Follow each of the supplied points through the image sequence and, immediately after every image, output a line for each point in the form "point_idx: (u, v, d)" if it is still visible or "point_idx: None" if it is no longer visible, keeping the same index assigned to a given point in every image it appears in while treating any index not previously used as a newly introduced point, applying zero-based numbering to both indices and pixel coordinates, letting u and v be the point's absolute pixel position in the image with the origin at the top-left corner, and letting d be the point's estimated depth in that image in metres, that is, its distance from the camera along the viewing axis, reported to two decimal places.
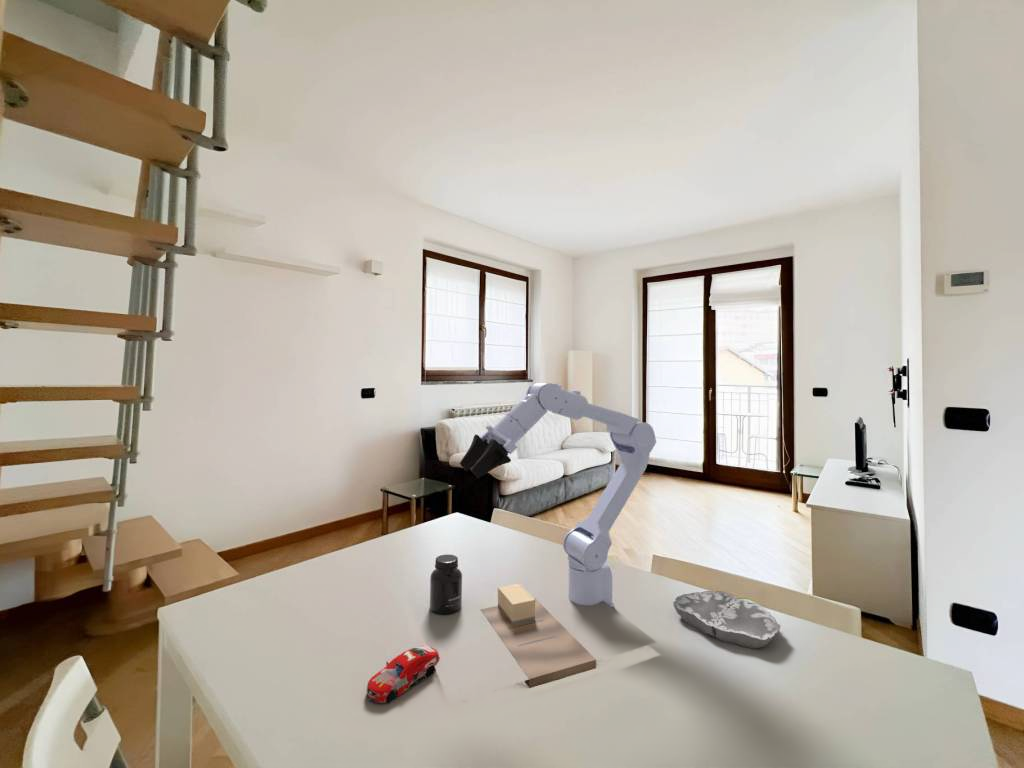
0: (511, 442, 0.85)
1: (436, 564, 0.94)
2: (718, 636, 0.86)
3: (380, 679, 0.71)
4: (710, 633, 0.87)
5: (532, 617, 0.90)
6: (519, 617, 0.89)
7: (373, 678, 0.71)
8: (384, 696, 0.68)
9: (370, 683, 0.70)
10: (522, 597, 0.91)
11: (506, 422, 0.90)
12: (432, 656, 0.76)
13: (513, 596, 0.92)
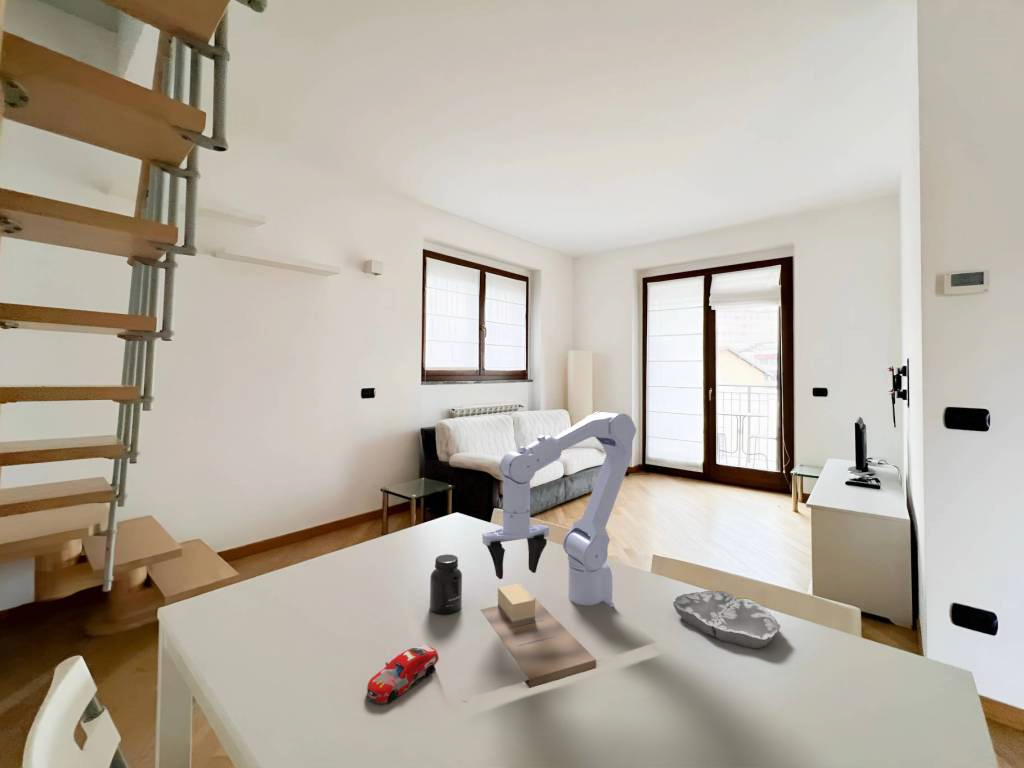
0: None
1: (436, 564, 0.94)
2: (718, 636, 0.86)
3: (380, 680, 0.70)
4: (710, 633, 0.87)
5: (532, 617, 0.90)
6: (519, 617, 0.89)
7: (373, 679, 0.71)
8: (385, 696, 0.68)
9: (371, 684, 0.70)
10: (522, 597, 0.91)
11: None
12: (431, 655, 0.76)
13: (513, 596, 0.92)
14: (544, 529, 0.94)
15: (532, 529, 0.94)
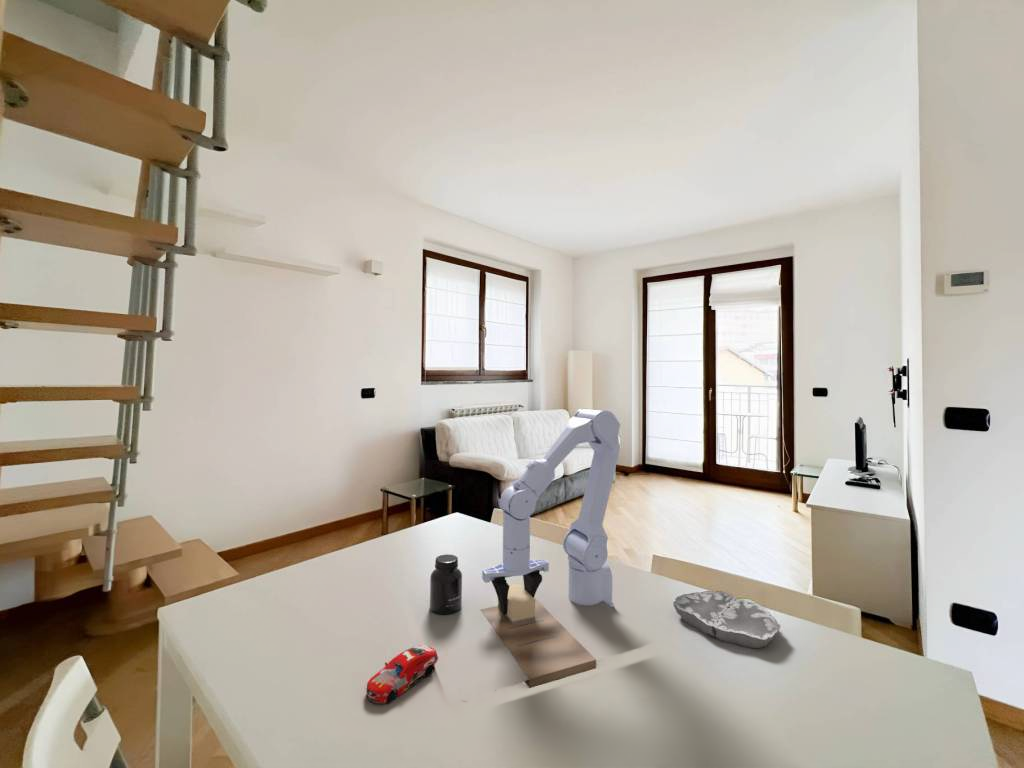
0: (482, 572, 0.91)
1: (436, 564, 0.94)
2: (718, 636, 0.86)
3: (380, 679, 0.70)
4: (710, 633, 0.87)
5: (532, 617, 0.90)
6: (519, 617, 0.89)
7: (372, 679, 0.71)
8: (384, 696, 0.68)
9: (370, 684, 0.70)
10: (522, 597, 0.91)
11: None
12: (430, 655, 0.76)
13: (513, 596, 0.92)
14: (544, 564, 0.94)
15: (532, 564, 0.94)
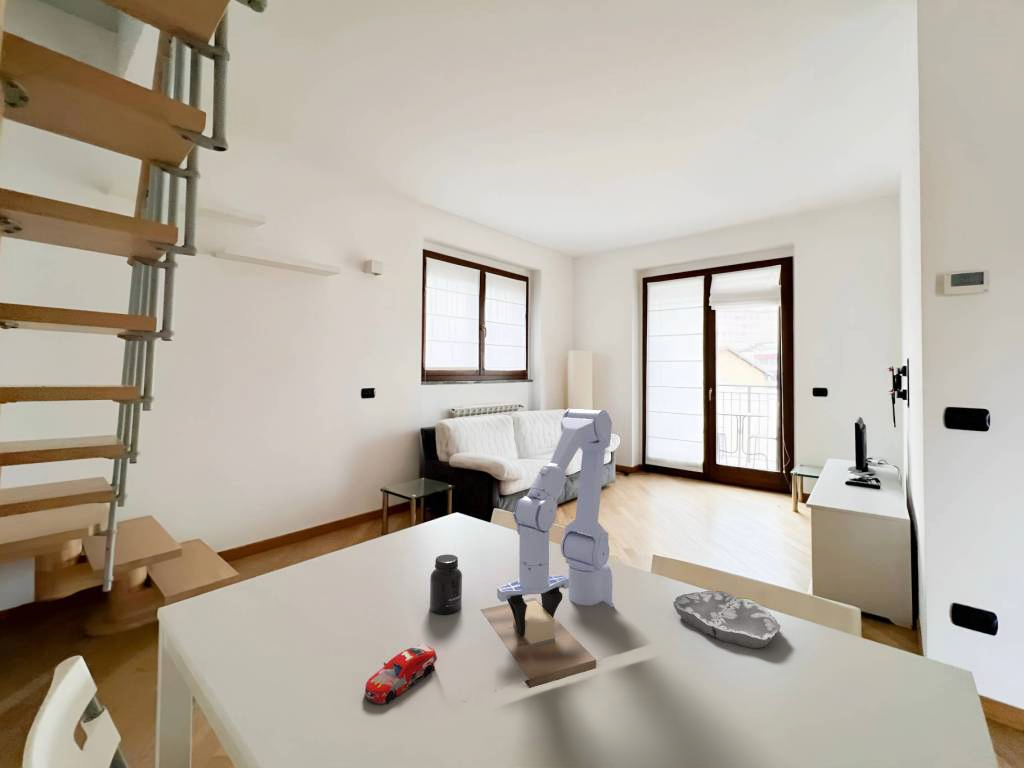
0: (497, 589, 0.83)
1: (436, 564, 0.94)
2: (718, 636, 0.86)
3: (378, 680, 0.70)
4: (710, 633, 0.87)
5: (552, 639, 0.82)
6: (538, 639, 0.81)
7: (371, 679, 0.71)
8: (383, 696, 0.68)
9: (369, 684, 0.70)
10: (540, 617, 0.83)
11: None
12: (429, 655, 0.76)
13: (530, 615, 0.84)
14: (564, 580, 0.87)
15: (551, 581, 0.86)
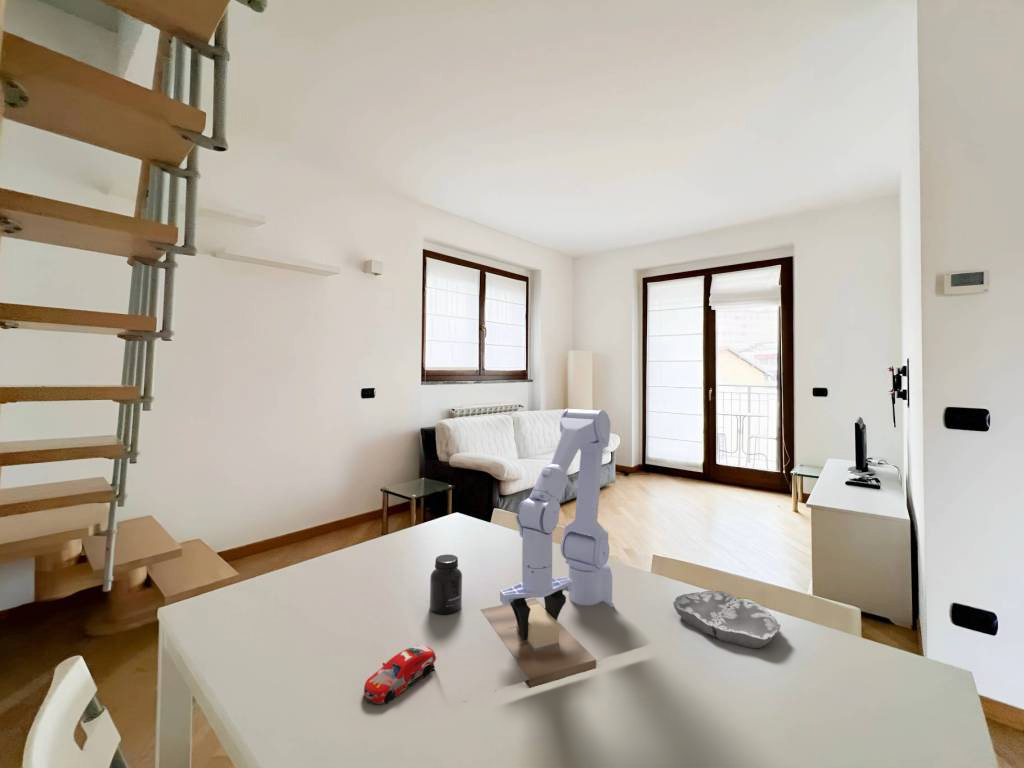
0: (500, 593, 0.82)
1: (436, 564, 0.94)
2: (718, 636, 0.86)
3: (377, 680, 0.70)
4: (710, 633, 0.87)
5: (556, 643, 0.81)
6: (542, 643, 0.80)
7: (370, 679, 0.71)
8: (382, 697, 0.68)
9: (368, 684, 0.70)
10: (544, 621, 0.82)
11: None
12: (428, 655, 0.76)
13: (534, 619, 0.83)
14: (567, 583, 0.86)
15: (554, 583, 0.85)
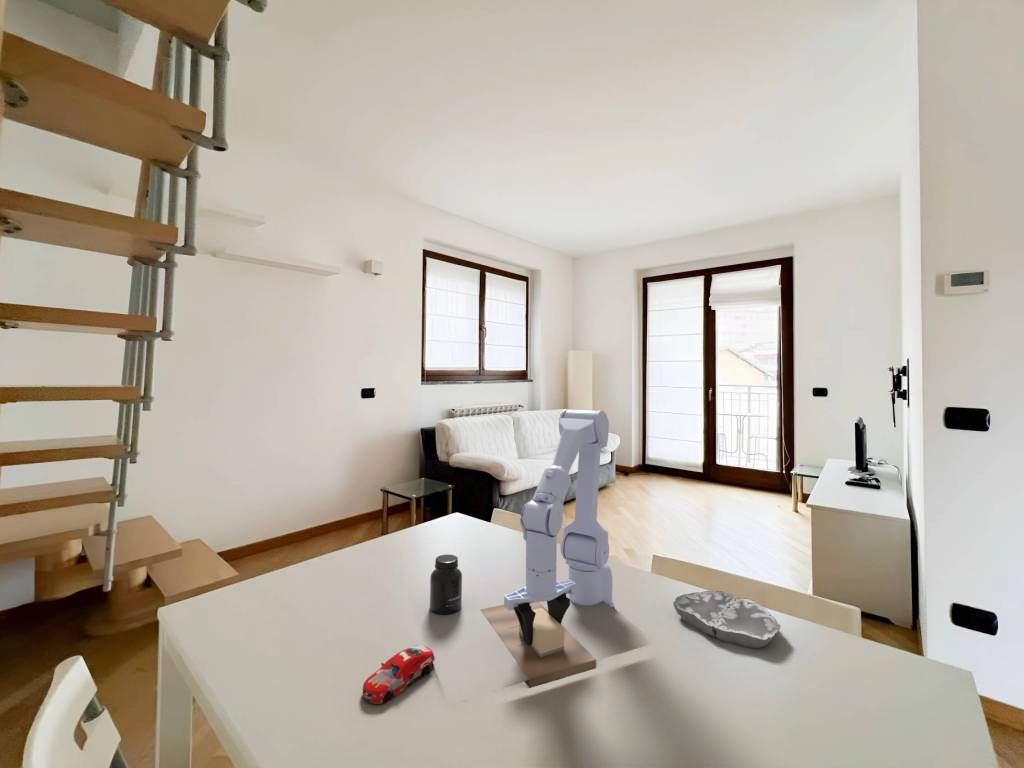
0: (504, 598, 0.80)
1: (436, 564, 0.94)
2: (718, 636, 0.86)
3: (376, 680, 0.70)
4: (710, 633, 0.87)
5: (561, 648, 0.80)
6: (548, 648, 0.78)
7: (369, 679, 0.71)
8: (380, 697, 0.68)
9: (366, 684, 0.70)
10: (549, 625, 0.81)
11: None
12: (427, 656, 0.76)
13: (538, 624, 0.81)
14: (571, 586, 0.84)
15: (558, 586, 0.84)
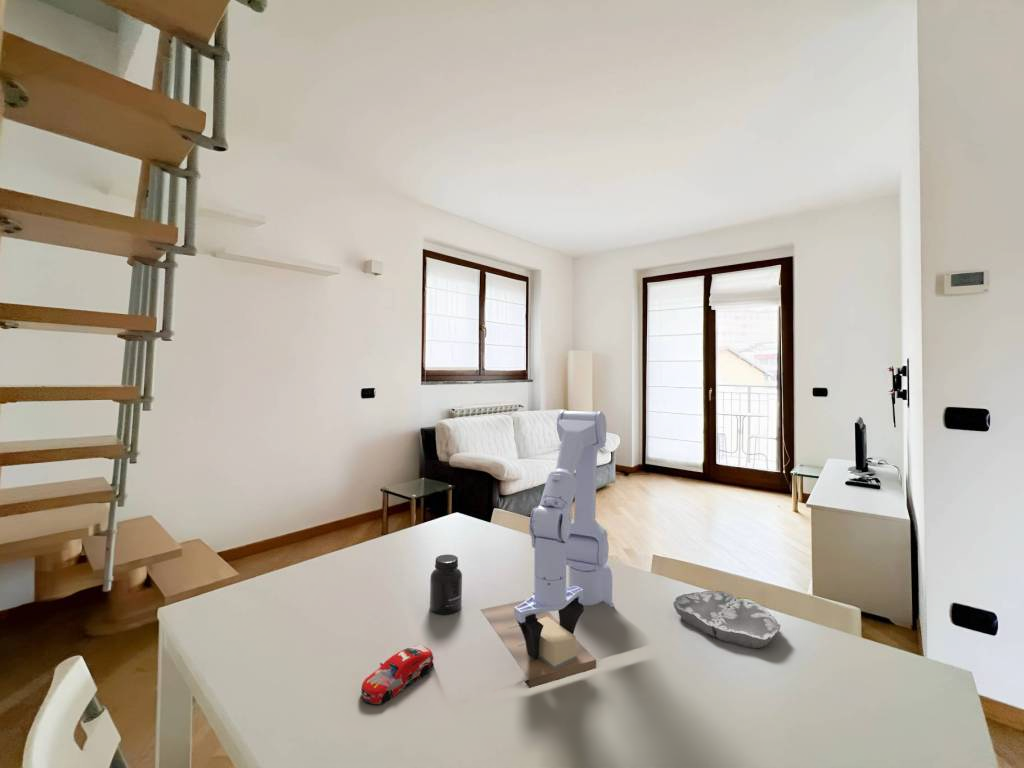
0: (515, 610, 0.76)
1: (436, 564, 0.94)
2: (718, 636, 0.86)
3: (375, 680, 0.70)
4: (710, 633, 0.87)
5: (573, 657, 0.77)
6: (561, 659, 0.75)
7: (367, 679, 0.71)
8: (379, 697, 0.68)
9: (365, 684, 0.70)
10: (560, 635, 0.78)
11: None
12: (426, 656, 0.76)
13: (549, 634, 0.78)
14: (579, 592, 0.82)
15: (566, 594, 0.81)
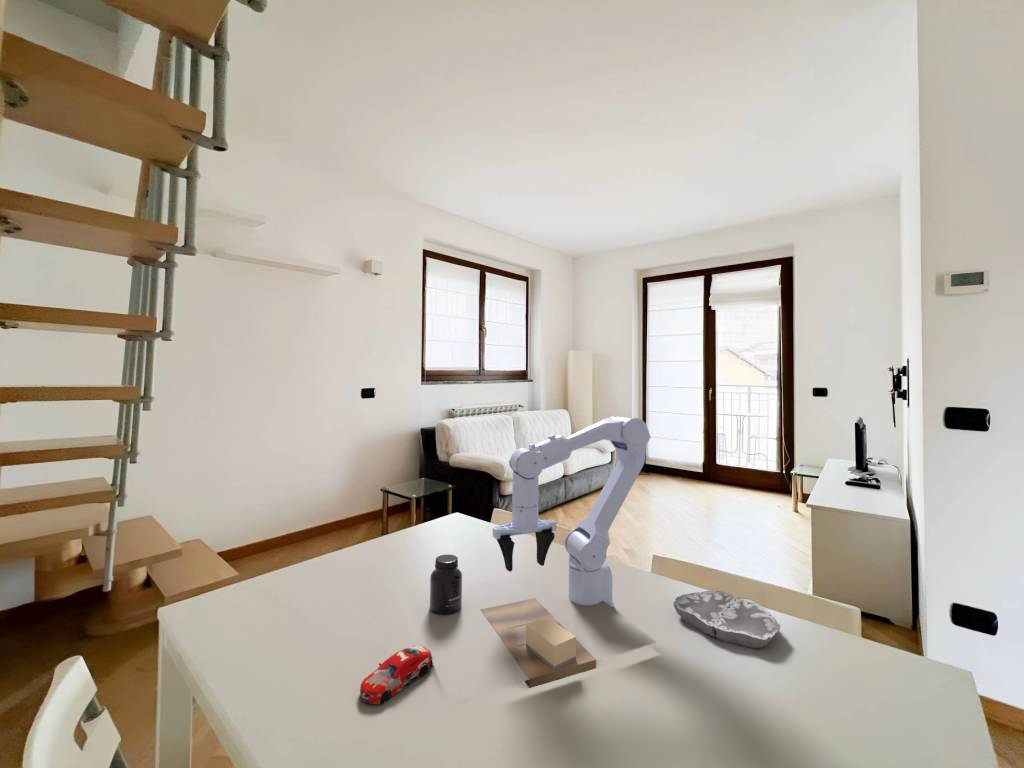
0: (493, 529, 0.94)
1: (436, 564, 0.94)
2: (718, 636, 0.86)
3: (373, 680, 0.70)
4: (710, 633, 0.87)
5: (573, 657, 0.77)
6: (561, 659, 0.75)
7: (366, 679, 0.71)
8: (378, 697, 0.68)
9: (364, 685, 0.70)
10: (560, 635, 0.78)
11: None
12: (425, 656, 0.76)
13: (549, 634, 0.78)
14: (552, 523, 0.97)
15: (540, 523, 0.97)
